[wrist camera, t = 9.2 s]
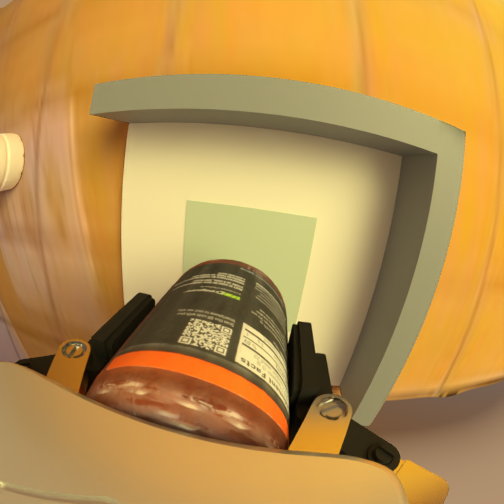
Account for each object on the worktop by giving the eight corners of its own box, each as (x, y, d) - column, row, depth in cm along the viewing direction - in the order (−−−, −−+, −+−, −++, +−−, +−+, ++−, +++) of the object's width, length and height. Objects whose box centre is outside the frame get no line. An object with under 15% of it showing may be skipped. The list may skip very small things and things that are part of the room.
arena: (356, 379, 23) (369, 425, 17) (133, 343, 24) (104, 380, 19) (421, 138, 17) (465, 131, 11) (138, 101, 18) (95, 84, 12)
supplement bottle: (198, 362, 15) (126, 536, 4) (156, 271, 14) (-6, 432, 3) (299, 344, 14) (304, 561, 3) (269, 239, 13) (214, 515, 2)
